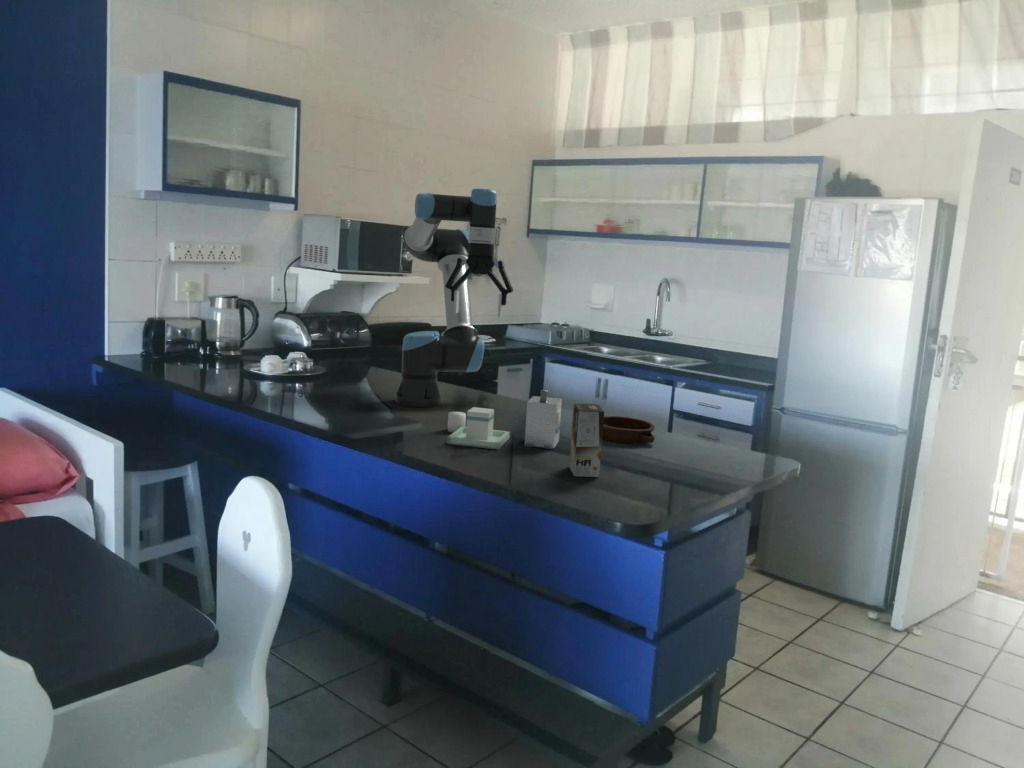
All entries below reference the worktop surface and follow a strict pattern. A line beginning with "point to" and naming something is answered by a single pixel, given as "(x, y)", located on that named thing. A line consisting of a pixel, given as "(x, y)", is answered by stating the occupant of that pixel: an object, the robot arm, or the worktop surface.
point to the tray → (494, 443)
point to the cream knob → (456, 421)
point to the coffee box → (586, 440)
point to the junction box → (543, 421)
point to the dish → (627, 430)
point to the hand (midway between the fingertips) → (477, 314)
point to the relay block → (480, 424)
